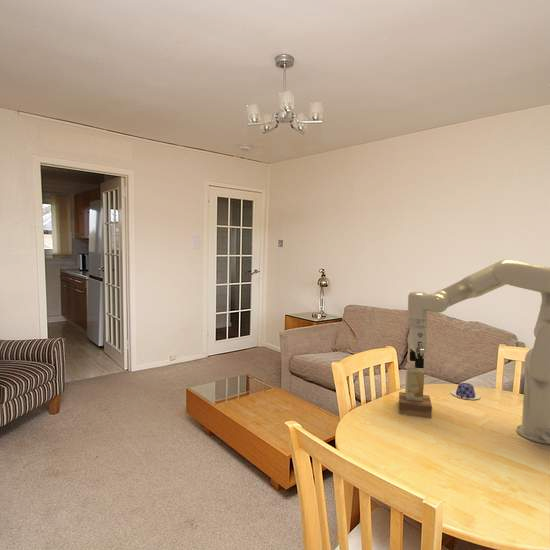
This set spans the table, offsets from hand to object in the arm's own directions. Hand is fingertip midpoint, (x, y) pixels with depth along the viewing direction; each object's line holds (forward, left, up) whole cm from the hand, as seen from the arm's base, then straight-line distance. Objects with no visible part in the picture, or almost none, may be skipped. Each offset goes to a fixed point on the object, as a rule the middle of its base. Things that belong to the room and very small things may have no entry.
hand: (416, 364), depth 152 cm
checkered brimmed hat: (+21, -27, -20) cm, 39 cm away
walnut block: (0, 0, -20) cm, 20 cm away
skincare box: (0, 0, -15) cm, 15 cm away
